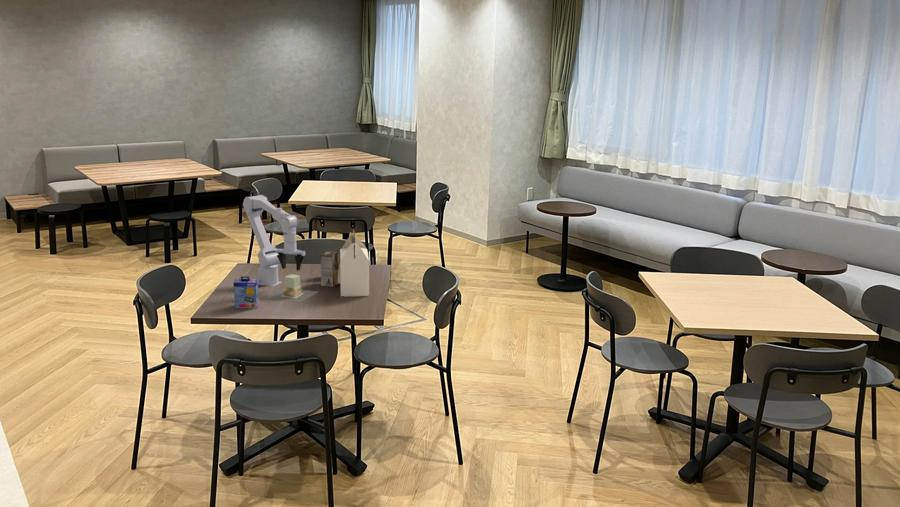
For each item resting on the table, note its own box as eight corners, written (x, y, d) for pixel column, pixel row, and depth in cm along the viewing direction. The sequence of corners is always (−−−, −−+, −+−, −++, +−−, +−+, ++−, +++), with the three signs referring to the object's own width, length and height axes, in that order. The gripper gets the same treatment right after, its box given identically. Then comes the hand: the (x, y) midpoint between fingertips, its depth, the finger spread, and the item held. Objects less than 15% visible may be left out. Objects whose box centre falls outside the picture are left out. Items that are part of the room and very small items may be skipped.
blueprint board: (265, 299, 340) (265, 297, 340) (285, 288, 357) (285, 287, 357) (300, 304, 335) (300, 302, 335) (318, 292, 352) (318, 291, 352)
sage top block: (284, 287, 344) (284, 276, 343) (291, 284, 348) (290, 274, 347) (294, 288, 342) (293, 278, 341) (300, 285, 346) (299, 275, 345)
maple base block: (283, 295, 344) (283, 287, 343) (289, 292, 350) (289, 284, 349) (295, 297, 342) (294, 289, 341) (301, 293, 348) (301, 285, 347)
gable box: (340, 283, 368) (339, 228, 361) (367, 282, 370) (367, 227, 363) (340, 296, 347) (339, 238, 340) (369, 296, 349) (368, 238, 342)
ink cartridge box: (234, 308, 327) (232, 277, 323) (236, 304, 332) (235, 273, 328) (257, 308, 328) (255, 277, 324) (259, 304, 333) (257, 273, 329)
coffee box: (327, 281, 370) (326, 250, 366) (339, 282, 369) (339, 251, 365) (320, 286, 361) (320, 254, 357) (333, 287, 360) (332, 255, 356)
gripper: (308, 240, 351) (309, 268, 354) (280, 238, 355) (281, 265, 358) (300, 243, 344) (301, 272, 347) (273, 241, 348) (274, 269, 351)
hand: (291, 269), depth 352 cm, fingers open, 7 cm apart
